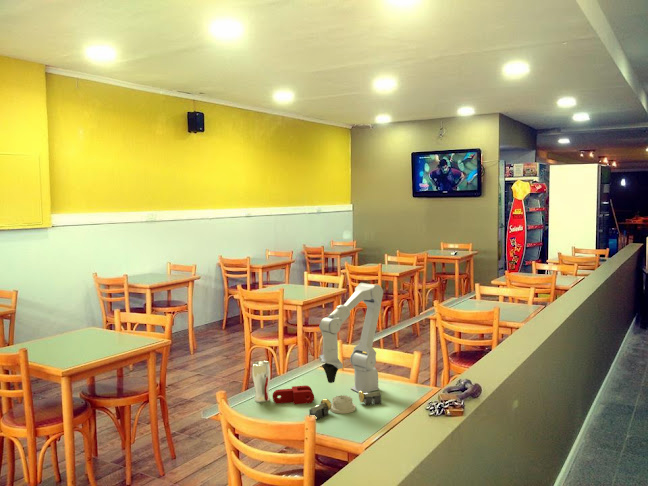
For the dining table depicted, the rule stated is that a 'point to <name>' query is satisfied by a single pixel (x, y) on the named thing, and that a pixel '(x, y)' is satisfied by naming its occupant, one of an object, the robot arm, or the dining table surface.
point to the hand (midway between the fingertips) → (331, 382)
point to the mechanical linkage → (294, 395)
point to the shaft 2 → (370, 398)
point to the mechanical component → (342, 405)
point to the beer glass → (261, 380)
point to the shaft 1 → (321, 409)
